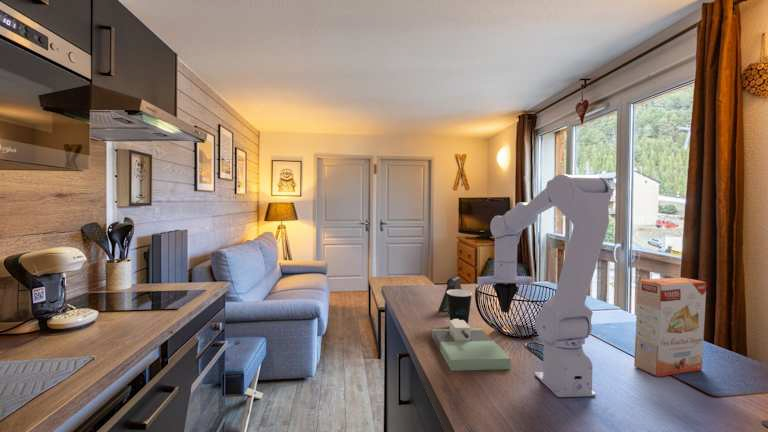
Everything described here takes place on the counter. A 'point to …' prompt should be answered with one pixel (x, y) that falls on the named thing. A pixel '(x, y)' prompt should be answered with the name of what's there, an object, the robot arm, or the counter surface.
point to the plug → (459, 330)
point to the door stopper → (451, 284)
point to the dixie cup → (459, 304)
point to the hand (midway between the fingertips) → (504, 311)
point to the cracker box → (670, 325)
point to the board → (471, 351)
